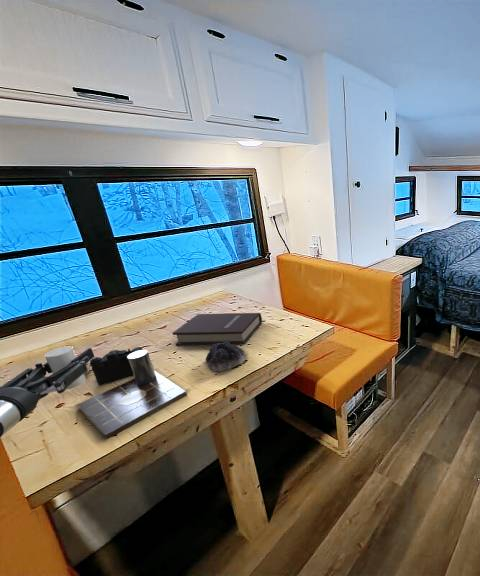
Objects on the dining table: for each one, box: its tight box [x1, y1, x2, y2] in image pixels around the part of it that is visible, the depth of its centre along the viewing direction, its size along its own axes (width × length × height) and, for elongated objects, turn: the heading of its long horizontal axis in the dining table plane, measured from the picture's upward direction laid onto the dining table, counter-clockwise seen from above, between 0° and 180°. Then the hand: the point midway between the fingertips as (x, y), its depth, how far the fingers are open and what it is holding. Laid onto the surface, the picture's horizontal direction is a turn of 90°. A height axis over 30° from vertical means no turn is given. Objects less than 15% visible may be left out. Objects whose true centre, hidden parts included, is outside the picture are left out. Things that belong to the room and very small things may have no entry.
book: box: [172, 312, 263, 347], centre depth 132 cm, size 28×20×6 cm
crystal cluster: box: [205, 341, 246, 372], centre depth 110 cm, size 13×14×10 cm
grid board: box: [76, 369, 188, 440], centre depth 92 cm, size 22×20×2 cm
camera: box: [89, 346, 144, 386], centre depth 105 cm, size 14×11×10 cm
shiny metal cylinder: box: [127, 349, 156, 385], centre depth 98 cm, size 5×5×10 cm
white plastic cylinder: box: [44, 345, 87, 390], centre depth 80 cm, size 5×5×10 cm
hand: (78, 353), depth 85 cm, fingers closed on white plastic cylinder, 5 cm apart
